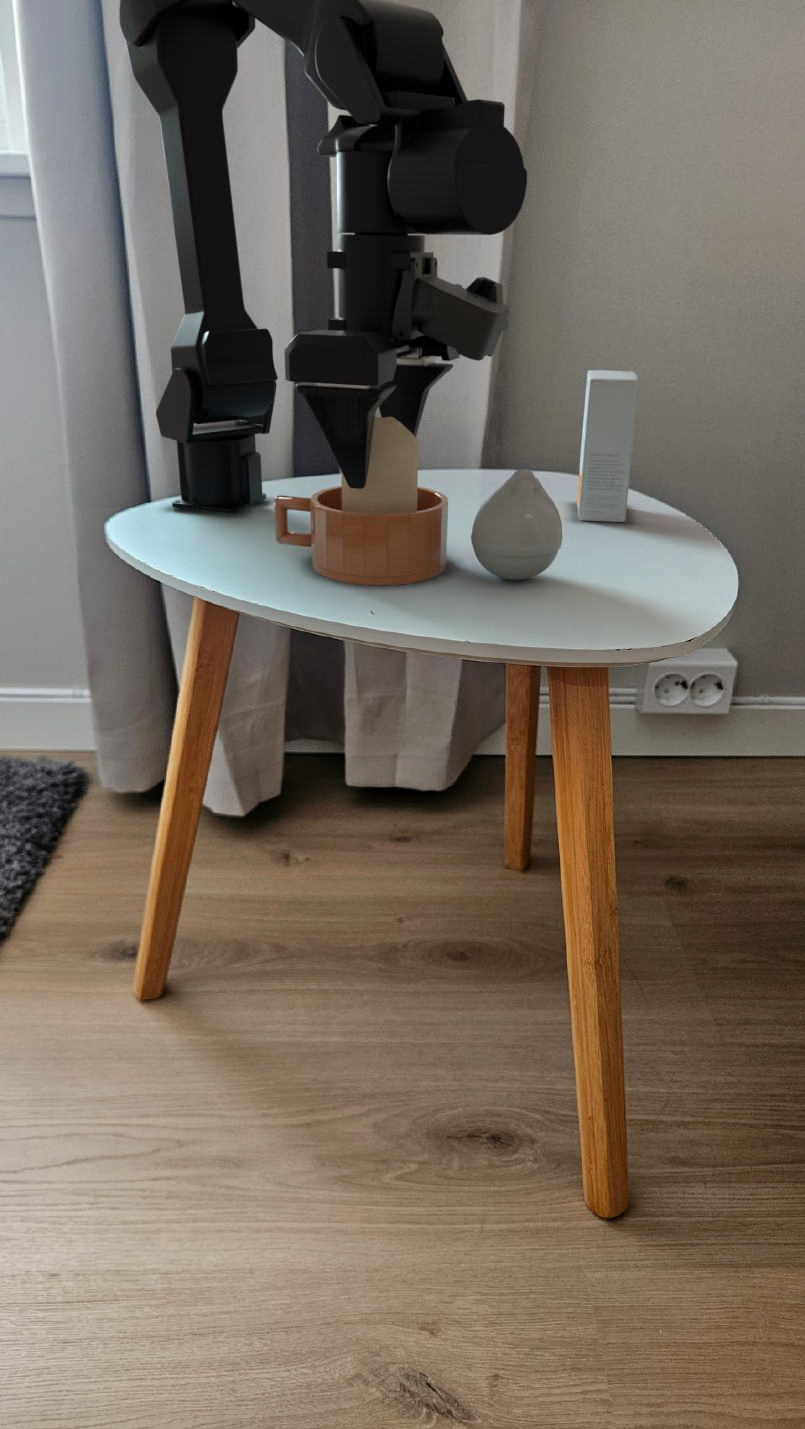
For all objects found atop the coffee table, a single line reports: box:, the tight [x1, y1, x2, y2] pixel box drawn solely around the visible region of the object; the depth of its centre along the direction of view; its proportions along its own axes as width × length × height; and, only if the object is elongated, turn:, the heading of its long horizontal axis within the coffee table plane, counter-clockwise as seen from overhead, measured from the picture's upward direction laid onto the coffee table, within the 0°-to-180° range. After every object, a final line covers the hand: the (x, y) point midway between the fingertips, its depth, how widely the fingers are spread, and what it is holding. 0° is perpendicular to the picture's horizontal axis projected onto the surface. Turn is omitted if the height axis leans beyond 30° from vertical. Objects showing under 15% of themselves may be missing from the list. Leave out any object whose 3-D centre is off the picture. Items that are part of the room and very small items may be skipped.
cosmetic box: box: [576, 369, 640, 523], centre depth 87 cm, size 6×4×12 cm
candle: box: [340, 416, 419, 514], centre depth 72 cm, size 6×6×10 cm
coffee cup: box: [273, 485, 449, 586], centre depth 74 cm, size 14×10×5 cm
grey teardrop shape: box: [470, 468, 563, 581], centre depth 71 cm, size 7×7×8 cm
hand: (380, 474), depth 72 cm, fingers open, 9 cm apart
